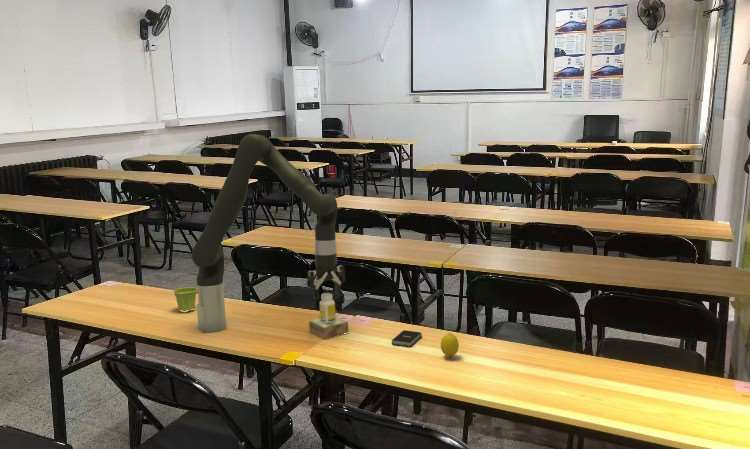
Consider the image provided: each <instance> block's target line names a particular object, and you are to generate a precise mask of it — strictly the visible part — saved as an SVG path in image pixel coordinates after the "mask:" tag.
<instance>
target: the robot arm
mask: <svg viewBox="0 0 750 449" xmlns="http://www.w3.org/2000/svg"><path fill="white" fill-rule="evenodd" d="M258 162H259V163H261V164H263V165H264V166H266V167H268V168H269V169H270V170H271V171H273V172H274V173H275V175H277V176H278V178H279V179H280V180H281V182H282V183H283V184H284V185H285V186H286V187H287V188H288V189H289V190H290V191H291V192H293V193H294V194H295V196H297V197H298V198H300V199H301V201H302V202H303V204H305V206H306V207H307V208H308V209H309V210H310V211H311V212H312V213H313V214H315V215H316V216H318V219H317V222H316V224H315V227H314V264H315V270H310V269H309V270H307V277H306V279H307V280H306V282H307V284H306V287H307V288H309V289H312V297H313V299H315V300H316V301H317V300H319V299H320V289H319V288H320V286H321V285H322V284H323V282H327V281H333V282H334V295H336V296H340V294H341V291H342V290H341V288H342V286H341V285H342V284H343V283H345V282H346V272H345V270H346V269H345V268H346V267H345V266H344V265H342V264H338V261H337V260H338V254H337V253H338V252H337V249H338V248H337V241H336V222H337V215H338V202H337V199H336V197H335V196H334V195H333V194H330V193H324V194H322V193H321V192H320V191H319V190H318V189H317V186H316V184H315V183H314V182H313V181H312V180H311V179H310V178H308V177H307V176H306V175H305V174H304V173H303V172H302V171H300V170H299V169H298V168H297V167H295V166H294V165H293V164H292V163H291V162H289V161H288V160H287V159H286V158H285V157H284V156H283V155H282V154H281V152H280V151H278V149H277V148H276V147H275V145H274V144H272V141H270V140H269V139H268V138H267V137H266V136H265V135H262V134H256V133H251V134H246V135H245V136H244V137H242V138H241V140H240V142H239V144H238V147H237V149H236V152H235V157H234V160H233V161H232V165H231V168H230V169H229V173H228V174H227V176H226V178H225V180H224V182H223V185H222V187H221V188H220V191H219V193H218V196H217V197H216V199H215V202H214V205H213V206H212V208H211V209H212V210H211V212H210V214H209V217H208V219H207V222H206V225H205V227H204V229H203V231H202V233H201V234H200V237H198V239H197V241H196V243H195V245H194V246H193V248H192V252H191V259H192V262H193V263H194V264H195V266H197V267H198V273H197V275H196V288H197V302H198V303H197V304H196V313H197V326H198V330H200V331H201V332H202V333H204V334H205V333H215V332H220V331H223V330H225V329H227V318H226V303H225V289H224V288H225V287H224V276H225V275H224V274H225V262H224V261H225V257H224V248H223V246H222V242H223V239H224V237H225V235H226V234H227V233H228V231H229V229H230V228H231V227H232V225H233V224H234V223H235V221H236V220H237V218H238V217H239V215H240V213H241V211H242V209H243V207H244V204H245V202H246V200H247V197H248V189H249V182H250V181H249V180H250V177H251V175H252V172H253V171H254V168H255V166H256V164H257V163H258ZM337 264H338V265H337ZM337 273H338V275H337Z"/></svg>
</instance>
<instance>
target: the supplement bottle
mask: <svg viewBox="0 0 750 449" xmlns="http://www.w3.org/2000/svg"><path fill="white" fill-rule="evenodd" d="M320 299H321V300H320V301H319V319H320V321H321V322H322V323H333V322H335V317H336V303H335V300H334V299H333V293H330V292H326V293H325V292H324V293H322V294H321V295H320Z"/></svg>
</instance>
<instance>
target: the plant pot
mask: <svg viewBox="0 0 750 449" xmlns="http://www.w3.org/2000/svg"><path fill="white" fill-rule="evenodd" d="M173 294H174V296H175V299H176V303H177V308H178V311H179V310H183V311H186V310H191V309H194V308H195V309H196V298H197V294H198V290H197V287H194V286H190V287H189V286H186V287H185V286H184V287H180V288H176V289H174V290H173Z"/></svg>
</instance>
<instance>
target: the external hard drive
mask: <svg viewBox="0 0 750 449" xmlns="http://www.w3.org/2000/svg"><path fill="white" fill-rule="evenodd" d="M421 338H422V332H421V331H415V330H414V331H413V330H406V329H404V330H402V331H401V332H400V333H398V334H397V335H396V336H394V338H392V339H391V345H392V346H396V347H402V348H403V347H404V348H412V347H413V346H414V345H415V344H416V343H417V342H418V341H419V340H420V339H421Z"/></svg>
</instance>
